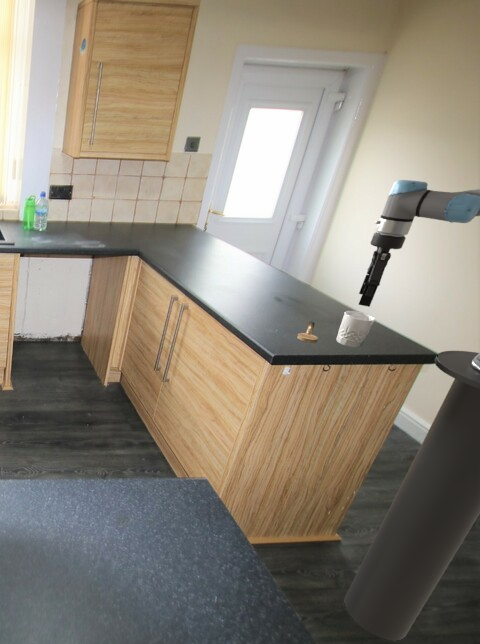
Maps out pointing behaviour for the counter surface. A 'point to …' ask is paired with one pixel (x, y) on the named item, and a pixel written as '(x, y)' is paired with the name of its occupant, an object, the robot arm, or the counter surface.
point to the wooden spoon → (308, 334)
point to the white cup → (354, 328)
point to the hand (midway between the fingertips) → (363, 299)
